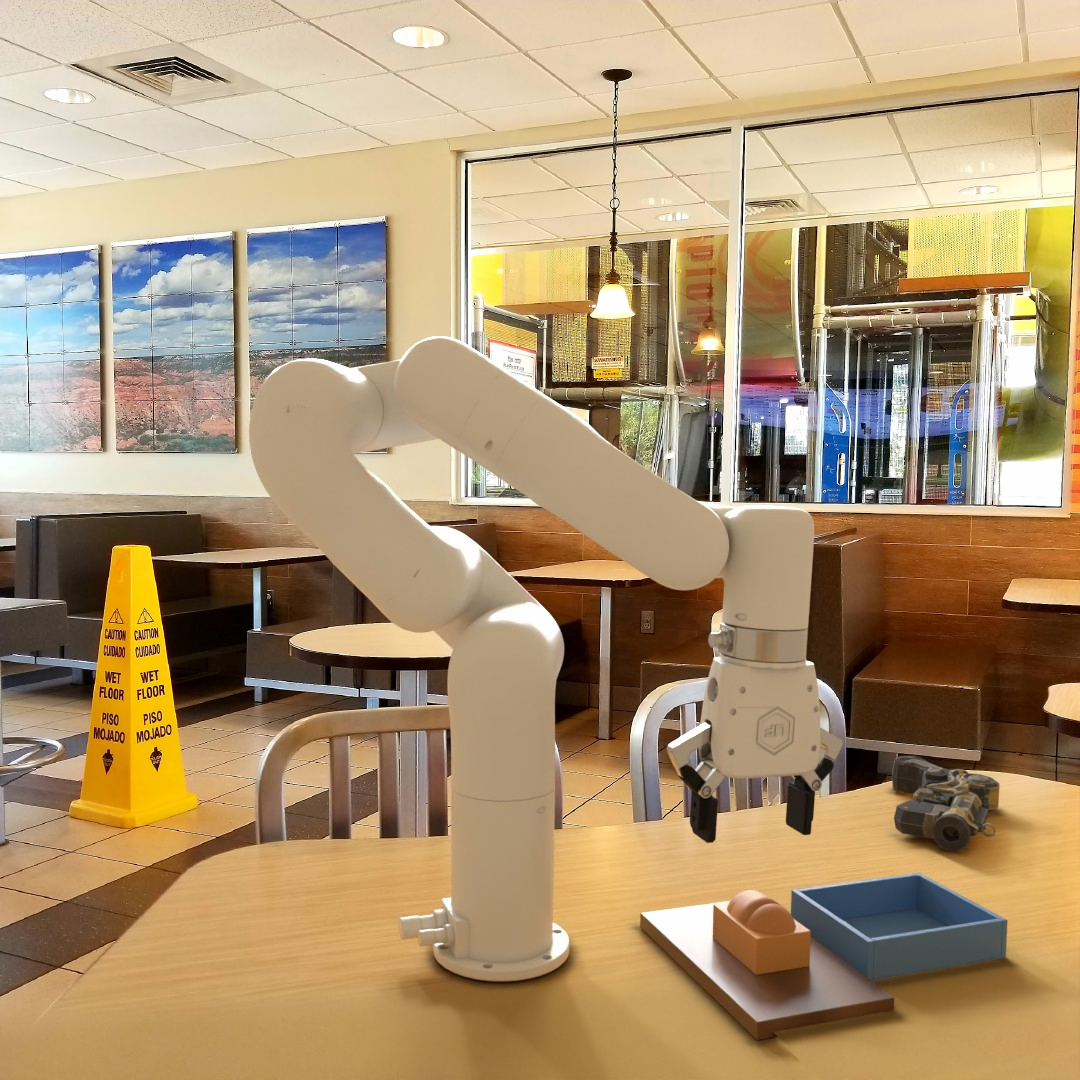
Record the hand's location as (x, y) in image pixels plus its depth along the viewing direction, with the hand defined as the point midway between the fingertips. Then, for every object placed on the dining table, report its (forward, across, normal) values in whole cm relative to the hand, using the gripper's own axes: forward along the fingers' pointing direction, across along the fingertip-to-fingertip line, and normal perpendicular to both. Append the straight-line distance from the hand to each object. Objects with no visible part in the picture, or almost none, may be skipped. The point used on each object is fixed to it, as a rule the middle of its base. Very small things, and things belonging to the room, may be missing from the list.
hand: (751, 833), depth 96 cm
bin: (+12, +16, 0) cm, 20 cm away
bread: (+11, +1, -1) cm, 11 cm away
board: (+12, +1, 0) cm, 12 cm away
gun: (+12, +46, +30) cm, 56 cm away
